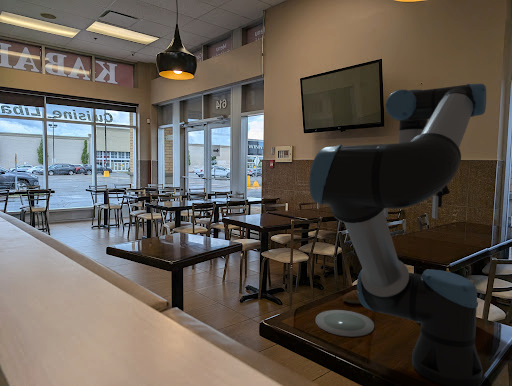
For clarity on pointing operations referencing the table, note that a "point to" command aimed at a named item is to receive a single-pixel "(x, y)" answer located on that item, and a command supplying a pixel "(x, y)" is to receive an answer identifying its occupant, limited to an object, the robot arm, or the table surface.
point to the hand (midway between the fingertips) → (409, 217)
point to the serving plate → (344, 323)
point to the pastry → (352, 297)
